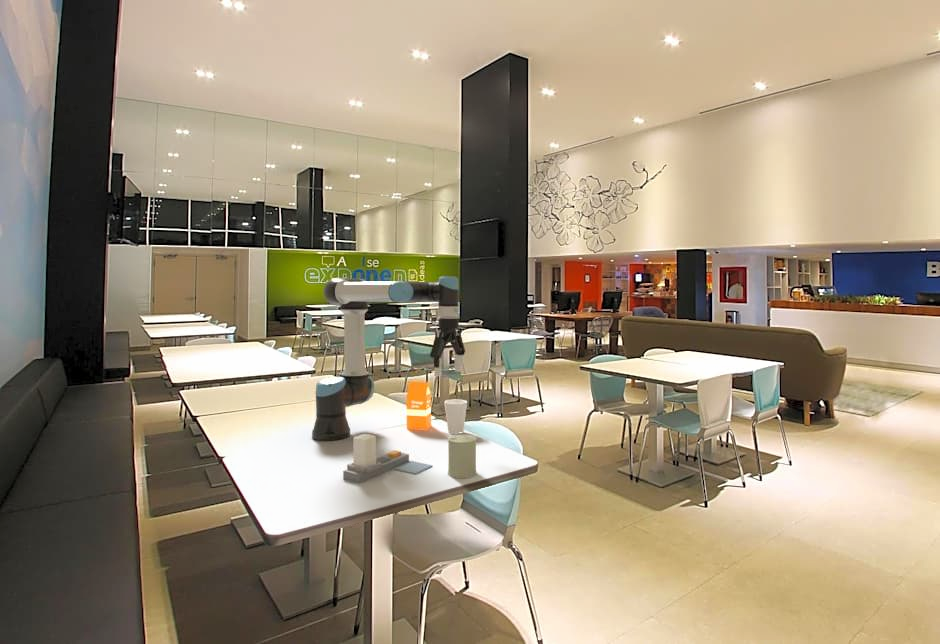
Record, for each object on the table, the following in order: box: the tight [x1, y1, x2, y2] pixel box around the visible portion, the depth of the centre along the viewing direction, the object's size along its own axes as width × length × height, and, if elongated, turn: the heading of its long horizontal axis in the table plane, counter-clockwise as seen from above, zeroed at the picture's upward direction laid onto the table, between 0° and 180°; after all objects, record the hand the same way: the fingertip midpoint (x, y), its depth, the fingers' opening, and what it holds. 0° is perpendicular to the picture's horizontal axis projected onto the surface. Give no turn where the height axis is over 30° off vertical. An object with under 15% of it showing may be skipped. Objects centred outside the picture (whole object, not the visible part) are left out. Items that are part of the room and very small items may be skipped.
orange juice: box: [406, 381, 432, 431], centre depth 221 cm, size 8×9×20 cm
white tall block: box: [352, 433, 377, 468], centre depth 162 cm, size 5×5×10 cm
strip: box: [342, 450, 410, 484], centre depth 168 cm, size 8×24×4 cm, turn 148°
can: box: [447, 434, 477, 479], centre depth 164 cm, size 9×9×12 cm
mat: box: [393, 460, 433, 475], centre depth 169 cm, size 9×9×1 cm
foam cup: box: [444, 398, 468, 434], centre depth 213 cm, size 10×9×13 cm
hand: (448, 374), depth 191 cm, fingers open, 13 cm apart
